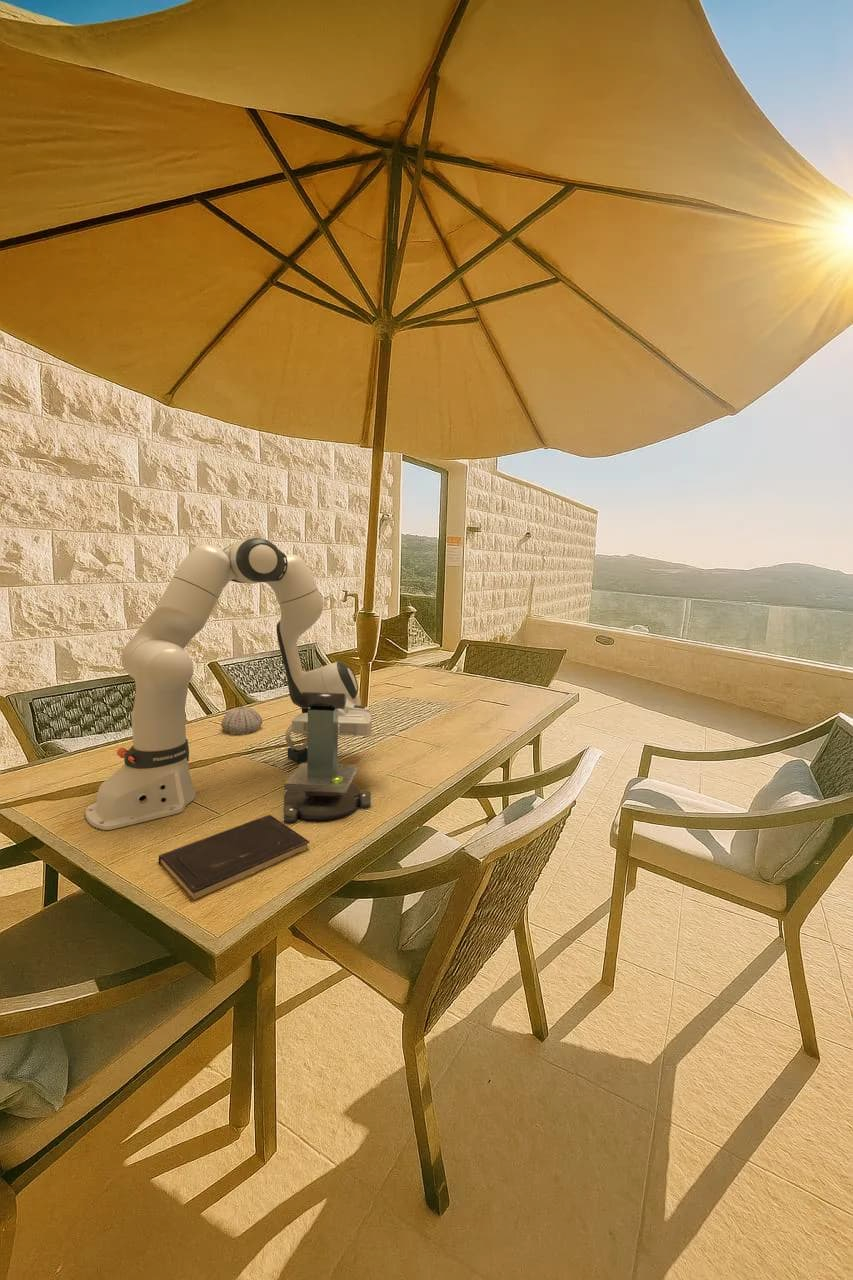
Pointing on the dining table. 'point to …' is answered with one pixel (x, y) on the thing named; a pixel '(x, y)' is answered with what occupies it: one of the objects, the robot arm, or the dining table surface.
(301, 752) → the watch
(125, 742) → the dining table surface
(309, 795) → the tribrach base
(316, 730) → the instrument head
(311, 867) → the dining table surface
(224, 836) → the hardcover book
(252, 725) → the sea urchin shell
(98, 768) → the dining table surface
